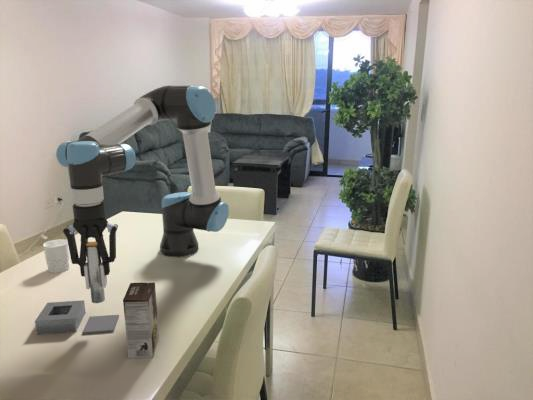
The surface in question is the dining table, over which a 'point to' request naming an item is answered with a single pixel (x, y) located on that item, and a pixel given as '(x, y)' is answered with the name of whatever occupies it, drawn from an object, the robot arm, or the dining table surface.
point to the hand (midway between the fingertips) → (96, 286)
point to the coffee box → (141, 320)
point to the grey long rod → (94, 272)
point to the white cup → (57, 255)
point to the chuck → (60, 317)
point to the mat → (100, 324)
